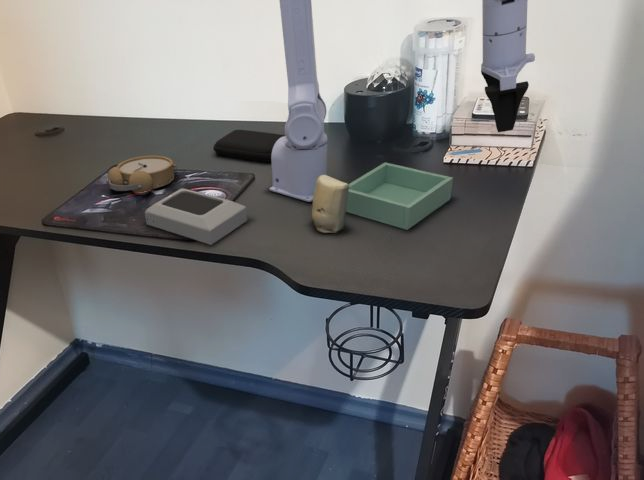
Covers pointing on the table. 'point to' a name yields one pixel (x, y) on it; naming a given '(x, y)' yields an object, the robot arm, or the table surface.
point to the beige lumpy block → (329, 204)
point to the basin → (398, 195)
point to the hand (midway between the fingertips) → (503, 121)
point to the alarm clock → (141, 174)
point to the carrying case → (247, 145)
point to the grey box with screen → (196, 215)
